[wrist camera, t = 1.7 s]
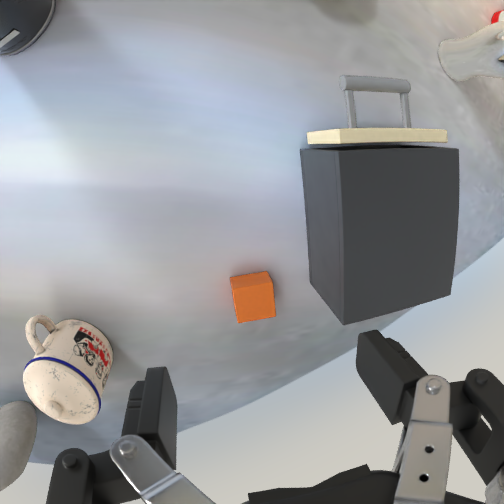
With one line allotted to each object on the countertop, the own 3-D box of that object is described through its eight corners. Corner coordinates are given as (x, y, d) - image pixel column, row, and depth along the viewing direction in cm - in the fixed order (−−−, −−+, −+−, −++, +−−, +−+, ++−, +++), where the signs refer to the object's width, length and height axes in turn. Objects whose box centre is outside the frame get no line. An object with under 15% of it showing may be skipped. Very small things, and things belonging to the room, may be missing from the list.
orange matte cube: (229, 277, 34) (232, 288, 31) (266, 270, 35) (272, 281, 32) (235, 309, 36) (238, 323, 33) (270, 303, 36) (276, 316, 33)
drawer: (300, 84, 28) (330, 67, 21) (397, 87, 29) (441, 78, 22) (316, 261, 34) (346, 291, 27) (404, 245, 35) (444, 267, 28)
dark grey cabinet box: (299, 149, 31) (338, 151, 22) (402, 144, 32) (458, 148, 23) (309, 282, 36) (343, 325, 27) (403, 263, 37) (450, 295, 28)
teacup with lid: (129, 365, 36) (112, 435, 25) (76, 383, 36) (52, 446, 25) (76, 283, 32) (33, 340, 21) (24, 309, 32) (-21, 363, 21)
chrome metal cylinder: (451, 29, 28) (533, 8, 14) (477, 72, 31) (560, 65, 16) (426, 48, 29) (516, 26, 15) (455, 94, 31) (545, 90, 17)
